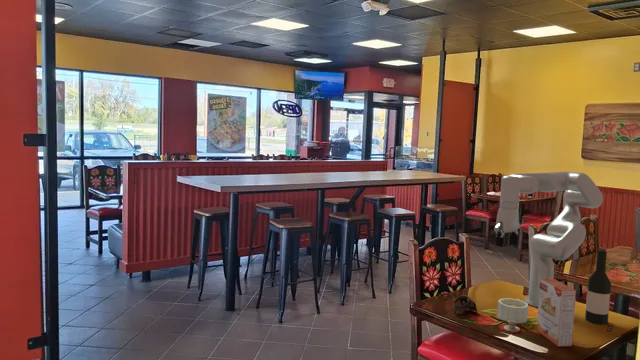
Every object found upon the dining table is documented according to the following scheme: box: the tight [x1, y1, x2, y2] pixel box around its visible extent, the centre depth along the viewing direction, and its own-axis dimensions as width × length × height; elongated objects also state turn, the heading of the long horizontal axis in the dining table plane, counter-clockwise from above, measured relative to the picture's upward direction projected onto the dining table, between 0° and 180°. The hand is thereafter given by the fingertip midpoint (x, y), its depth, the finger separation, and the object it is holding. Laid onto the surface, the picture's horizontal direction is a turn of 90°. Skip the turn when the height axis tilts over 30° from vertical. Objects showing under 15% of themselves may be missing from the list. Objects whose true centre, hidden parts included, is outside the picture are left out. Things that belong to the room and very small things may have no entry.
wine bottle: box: [584, 247, 612, 326], centre depth 196 cm, size 8×8×30 cm
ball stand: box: [503, 320, 521, 333], centre depth 185 cm, size 6×6×3 cm
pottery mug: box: [452, 294, 478, 315], centre depth 203 cm, size 12×10×8 cm
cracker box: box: [536, 278, 577, 348], centre depth 176 cm, size 14×6×21 cm, turn 5°
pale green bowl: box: [496, 297, 529, 324], centre depth 197 cm, size 11×11×6 cm
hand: (506, 245), depth 204 cm, fingers open, 9 cm apart
